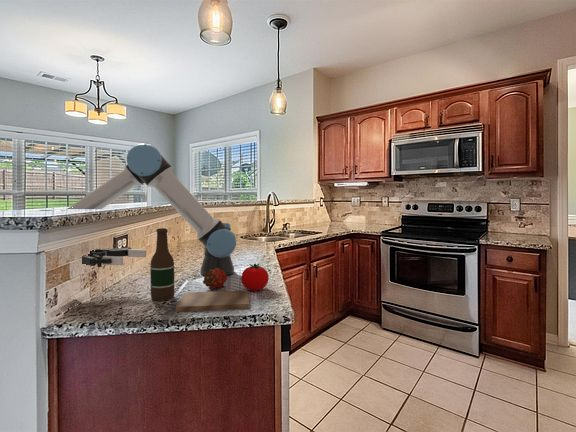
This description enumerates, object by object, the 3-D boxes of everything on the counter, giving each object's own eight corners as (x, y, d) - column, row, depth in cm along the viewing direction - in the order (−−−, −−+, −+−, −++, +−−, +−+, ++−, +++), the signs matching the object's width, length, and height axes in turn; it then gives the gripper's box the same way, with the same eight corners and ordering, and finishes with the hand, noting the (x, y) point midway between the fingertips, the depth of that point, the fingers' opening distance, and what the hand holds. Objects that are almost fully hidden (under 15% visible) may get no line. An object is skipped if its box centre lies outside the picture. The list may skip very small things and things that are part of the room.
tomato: (235, 291, 112) (235, 265, 112) (250, 284, 122) (250, 260, 121) (260, 296, 108) (260, 268, 108) (273, 288, 118) (273, 262, 117)
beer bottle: (171, 300, 102) (171, 229, 100) (147, 301, 100) (146, 229, 99) (176, 293, 109) (176, 227, 108) (153, 294, 108) (153, 227, 107)
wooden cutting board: (176, 311, 92) (176, 306, 92) (184, 296, 106) (184, 292, 106) (248, 308, 96) (248, 303, 96) (247, 294, 109) (247, 290, 109)
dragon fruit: (208, 297, 111) (216, 292, 123) (227, 283, 111) (234, 279, 123) (195, 278, 111) (205, 274, 123) (214, 264, 112) (222, 262, 124)
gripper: (102, 258, 119) (153, 260, 118) (46, 273, 94) (110, 277, 93) (101, 239, 119) (153, 241, 117) (45, 250, 94) (110, 252, 92)
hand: (134, 257), depth 105 cm, fingers open, 13 cm apart
